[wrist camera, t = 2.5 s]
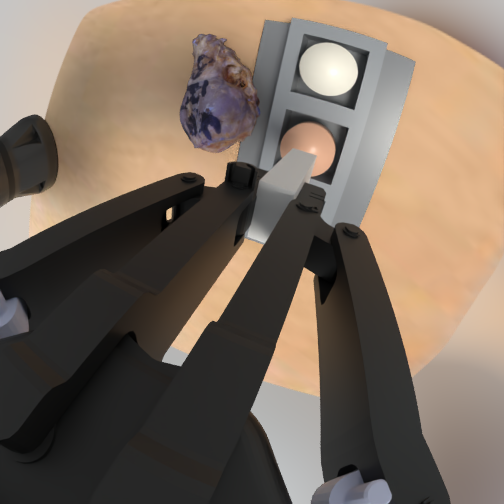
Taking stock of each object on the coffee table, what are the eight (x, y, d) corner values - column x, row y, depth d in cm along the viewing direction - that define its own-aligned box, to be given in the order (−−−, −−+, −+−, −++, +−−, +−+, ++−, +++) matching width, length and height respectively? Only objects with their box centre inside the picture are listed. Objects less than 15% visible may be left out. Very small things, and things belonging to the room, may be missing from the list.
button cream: (299, 87, 21) (293, 87, 19) (310, 41, 18) (305, 36, 16) (349, 102, 20) (350, 103, 18) (362, 56, 17) (363, 52, 15)
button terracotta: (281, 160, 25) (275, 167, 23) (292, 114, 22) (286, 117, 20) (328, 175, 24) (325, 183, 22) (342, 130, 21) (341, 134, 20)
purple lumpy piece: (191, 43, 23) (151, 39, 18) (259, 27, 20) (226, 13, 15) (205, 146, 29) (168, 160, 24) (271, 143, 26) (243, 156, 21)
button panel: (229, 214, 33) (217, 228, 30) (267, 21, 20) (255, 13, 17) (345, 254, 31) (344, 273, 28) (414, 62, 18) (423, 58, 15)
